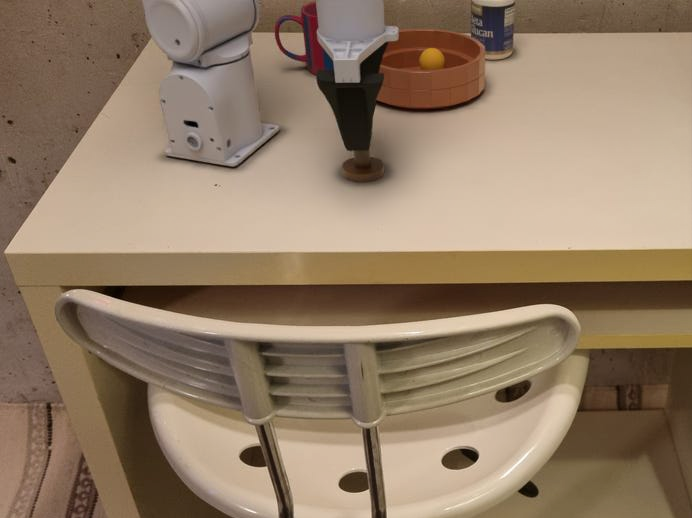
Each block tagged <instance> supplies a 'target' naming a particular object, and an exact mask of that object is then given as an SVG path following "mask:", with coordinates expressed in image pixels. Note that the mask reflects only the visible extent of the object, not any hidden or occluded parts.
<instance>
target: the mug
mask: <svg viewBox="0 0 692 518" xmlns="http://www.w3.org/2000/svg"><path fill="white" fill-rule="evenodd" d="M286 21H293V22H296V23H297V24H299V26H301V28H302V33H303V41H304V50H305V54H301V55H300V54H297V53H296V54H295V53H293V52H291V51H289V50H287V49H286V48H285V47H284V46H283V43H282V41H281V38H280V28H281V25H282V24H283V23H284V22H286ZM318 28H319V26H318V17H317V8H316V1H312V2H309V3H307V4H304V5H303V6H302V7H301V8H300V16H297V15H293V14H286V15H281V16H280V17H279V18H278V19H277V20H276V23H275V25H274V38H275V42H276V45H277V47H278V49H279V50H280V51H281V52H282V54H284V55H285V56H286V57H287V58H288V59H289V58H290V59H291V60H294V61H297V62H302V63H306V65H307V69H308V71H309V72H310V73H312V74H313V75H316V76H317V72H318V70H328V69H334V63H333V60H332V59H331V57H330V56H329V55H328V54H327V52H326V51H325V50H324V48H323V47H322V46H321V45H320V43H319V42H318V39H317V29H318Z"/></svg>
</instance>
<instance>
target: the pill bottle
mask: <svg viewBox="0 0 692 518" xmlns="http://www.w3.org/2000/svg"><path fill="white" fill-rule="evenodd" d="M515 9H516V0H470V36H471V37H473V38H475V39H477V40H479V41H480V42H481V43H482V44H483V45H484V46H485V60H491V61H493V60H495V61H496V60H503V59H506V58H508V57H510V56H511V55H512V54H513V50H514V31H515V11H516V10H515Z"/></svg>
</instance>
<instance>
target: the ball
mask: <svg viewBox="0 0 692 518" xmlns="http://www.w3.org/2000/svg"><path fill="white" fill-rule="evenodd" d="M419 63H420V67H421V69H422V70H425V71H429V70H439V69H443V68H444V65H445V59H444V56H443V54H442V53H441V52H440V51H439V50H438V49H435V48H428V49H426V50H425V51H423V53H422V54H421V56H420V59H419Z"/></svg>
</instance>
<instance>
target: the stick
mask: <svg viewBox="0 0 692 518" xmlns="http://www.w3.org/2000/svg"><path fill="white" fill-rule="evenodd" d="M352 152H353V153H352V154H353V157H350V158H348V159H346V160H345V161H344V162H342V164H341V170H342V176H343V177H344V179H345V178H346V179H347V180H348V181H352V182H358V183H367V182H373V181H377V180H378V179H380V178H381V177H383V175H384V174H385V163H384V162H383V161H382V160H381V159H379V158H377V157H375V156H371V147H370V148H369V150H368V151H352Z"/></svg>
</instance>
